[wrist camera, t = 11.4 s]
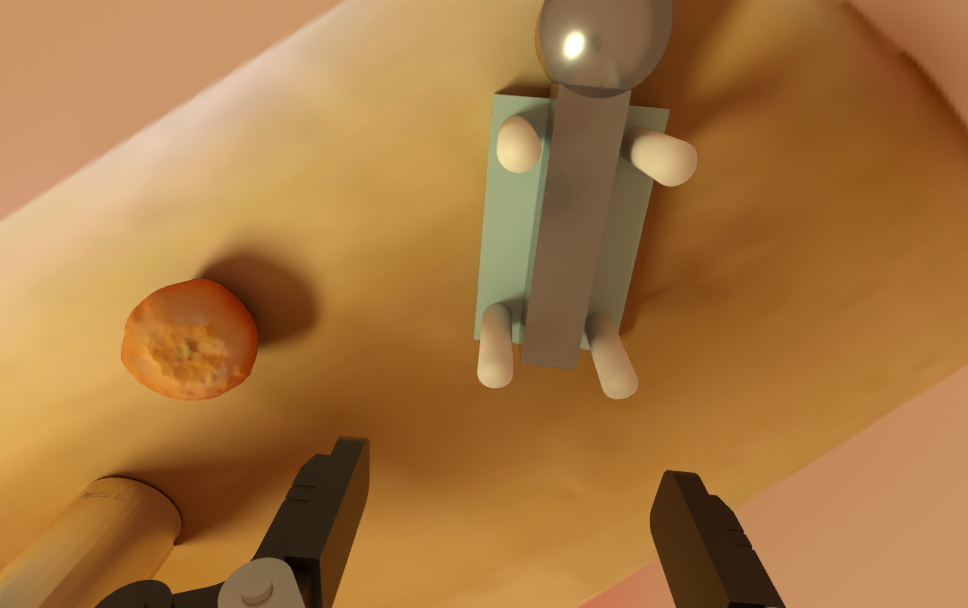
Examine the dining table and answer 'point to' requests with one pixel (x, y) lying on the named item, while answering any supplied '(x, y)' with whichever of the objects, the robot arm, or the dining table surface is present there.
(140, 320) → the fruit
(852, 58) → the dining table surface
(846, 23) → the dining table surface
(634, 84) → the ball-topped lever
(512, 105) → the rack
